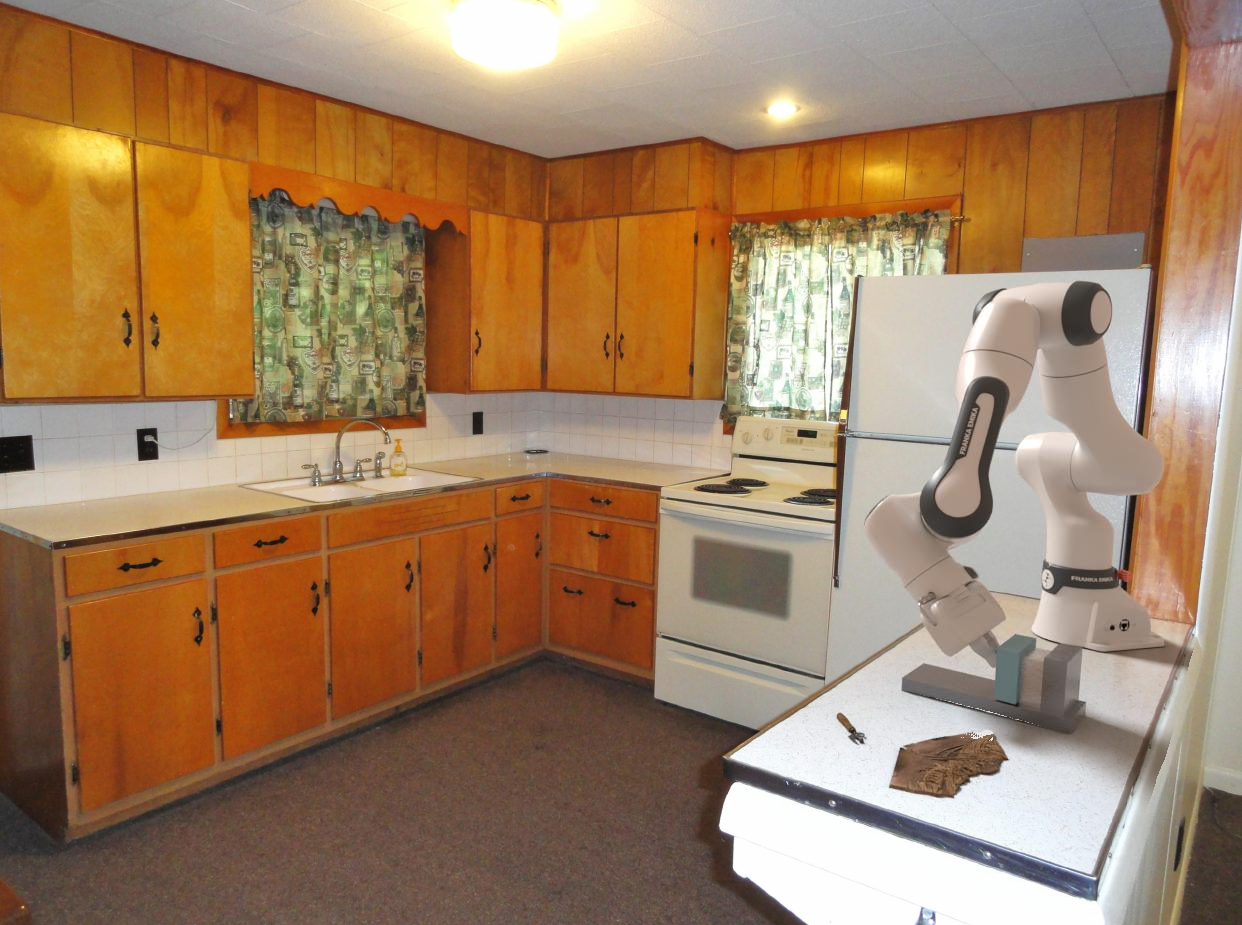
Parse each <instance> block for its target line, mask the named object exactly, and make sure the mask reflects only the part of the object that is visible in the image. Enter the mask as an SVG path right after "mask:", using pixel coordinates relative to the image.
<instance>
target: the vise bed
mask: <svg viewBox="0 0 1242 925" xmlns="http://www.w3.org/2000/svg"><path fill="white" fill-rule="evenodd" d="M1083 648H1084V647H1081V646H1075V645H1069V644H1064V643H1058V644H1057V645H1056V646H1055V647H1054V648H1053V649H1052V650H1050V651H1051V652H1050V653H1049V654H1048V655H1047V656H1045V657H1044V663H1043V677H1042V691H1041V705H1040V709H1038V708H1035V707H1031V706H1027V705H1023V704H1019V702H1018V703H1017V704H1012V703H1008V702H1004V701H1000V700H996V699H994V688H995V679H991V678H987V677H983V676H981V675H976V674H975V675H974V674H970V673H967V672H963V671H958V670H953V669H950V668H945V667H941V666H938V665H933V664H928V663H922V664H920V665H919V666H917V667H916V668H914V669H912V670H911V671H910V672H908V673H907V674H905V675H904V676H903V677H902V678H901V691H904V692H907V691H908V693H911V692H912V694H915V693H916V695H919V694H921V695H920V696H922V695H925V696H924V697H926V696H929V697H928V698H930V697H933V698H932V699H934V698H938V699H942V700H946V701H951V702H954V703H958V704H962V705H965V706H970V707H973V708H979V709H982V710H985V711H990V712H993V713H997V714H1000V715H1004V716H1007V717H1011V718H1013V719H1019V720H1022V721H1026V722H1029V723H1033V724H1035V725H1034V726H1036V725H1039V726H1038V727H1040V726H1041V727H1040V728H1044V727H1045V728H1044V729H1047V728H1048V730H1051V729H1052V731H1055V732H1060V733H1063V734H1067V735H1071V734H1072V733H1073V731H1074V730H1075V729H1076V728H1077V726H1078V725H1079V724H1080V722H1081V721H1082V720H1083V719H1084V717H1085V716H1086V712H1087V711H1086V710H1087V701H1084V700H1080V698H1079V697H1080V685H1081V672H1082V660H1083ZM938 699H937V700H938ZM1013 719H1012V720H1013ZM1029 723H1028V724H1029Z"/></svg>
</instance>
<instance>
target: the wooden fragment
mask: <svg viewBox="0 0 1242 925" xmlns="http://www.w3.org/2000/svg"><path fill="white" fill-rule="evenodd" d="M971 732H972V733H971ZM973 732H974V731H970V733H969V731H968V732H964V733H965V734H964V733H960V734H959V733H958V734H953V735H947V736H945V735H944V736H939V737H934V738H930V739H929V738H928V739H925V740H921V741H917V742H915V743H913V742H912V743H909V744H904V745H903V746H902V747H899V750H898V754H897V757H896V761H895V764H894V767H893V772H892V775H891V779H890V782H889V786H888V788H889V789H895V790H898V791H899V790H900V791H903V792H906V793H910V794H915V795H927V796H933V797H944V798H945V797H946V798H955V796H954V795H956V793H957V790H959V789H960V788H961V784H965V783H967V782H969V781H971V779H970V778H971V777H974V776H976V775H978V774H979V775H986V774H991V773H995V772H996V771H999V766H1000V764H1001V762H1003V761H1008V759H1009V757H1008V755H1006V753H1005V750H1004V749H1003V747H1002V746H1001V745H999V744H1000V743H999V741H998V740H997V739H995V738H996V737H997V735H996V734H995V733H994V734H995V735H996V736H995V735H994V734H991V735H986V736H983V738H981V737H980V738H978V739H973V738H971V737H973V735H975V733H974V734H973ZM966 733H967V735H966ZM969 734H970V735H969ZM971 734H973V735H972V736H971ZM975 736H976V737H977V734H976V735H975ZM975 736H974V737H975ZM961 737H962V738H961ZM963 737H964V738H963ZM978 737H979V735H978ZM992 737H993V740H992V741H991V740H990V739H991V738H992ZM989 740H990V741H989ZM996 740H997V741H996Z"/></svg>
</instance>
